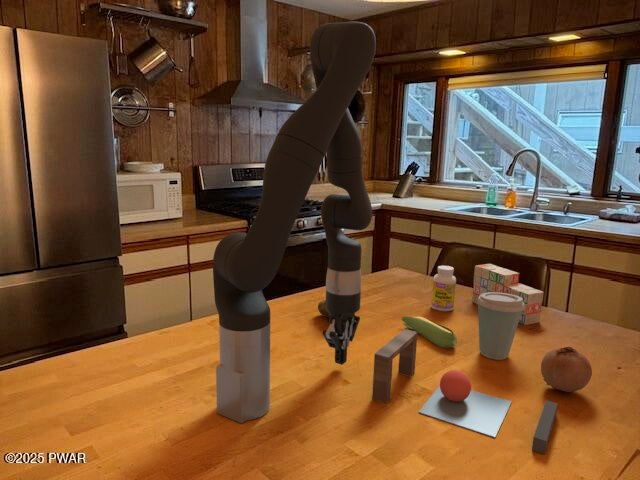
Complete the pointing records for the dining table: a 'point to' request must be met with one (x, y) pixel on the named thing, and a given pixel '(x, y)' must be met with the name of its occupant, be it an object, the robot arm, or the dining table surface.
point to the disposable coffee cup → (498, 323)
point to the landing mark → (469, 411)
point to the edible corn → (431, 331)
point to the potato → (323, 309)
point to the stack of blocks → (508, 289)
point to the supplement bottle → (443, 289)
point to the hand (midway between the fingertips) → (340, 362)
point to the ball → (455, 385)
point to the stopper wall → (544, 427)
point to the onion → (566, 369)
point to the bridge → (384, 359)
